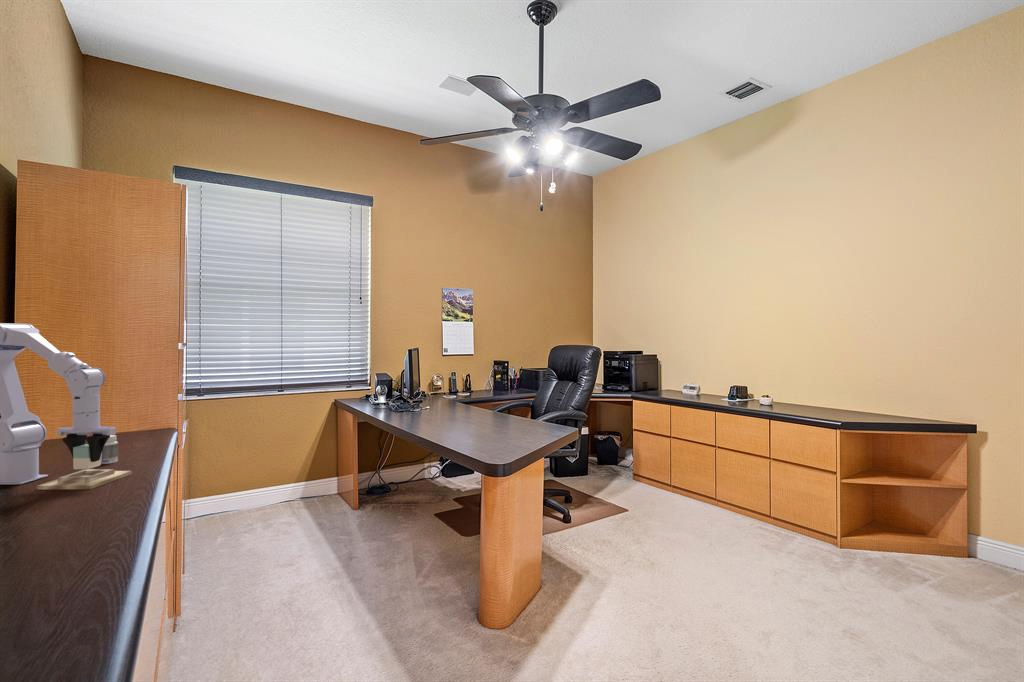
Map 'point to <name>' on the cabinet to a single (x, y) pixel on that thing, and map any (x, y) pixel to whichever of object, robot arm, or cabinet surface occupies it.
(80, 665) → the cabinet surface
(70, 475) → the base plate
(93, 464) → the teal and cream block
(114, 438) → the pill bottle
